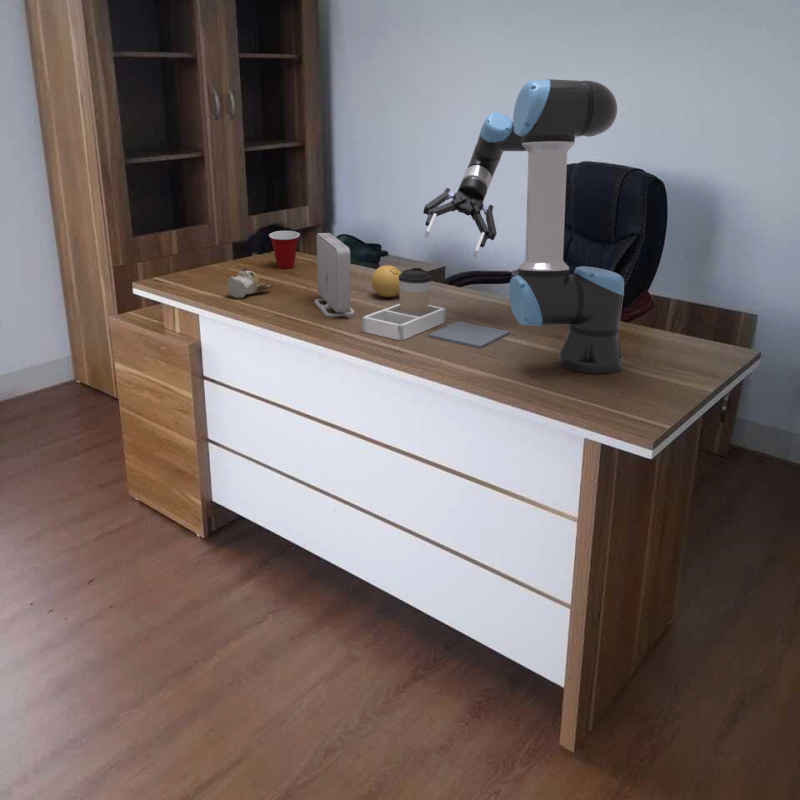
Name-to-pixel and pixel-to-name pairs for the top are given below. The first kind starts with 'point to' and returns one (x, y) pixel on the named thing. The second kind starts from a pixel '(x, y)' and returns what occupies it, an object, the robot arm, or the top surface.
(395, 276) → the stress ball
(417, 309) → the coffee cup
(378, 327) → the white rectangular frame
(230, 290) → the ceramic sculpture
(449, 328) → the grey mat
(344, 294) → the network device
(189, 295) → the top surface
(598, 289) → the robot arm
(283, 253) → the plastic cup
